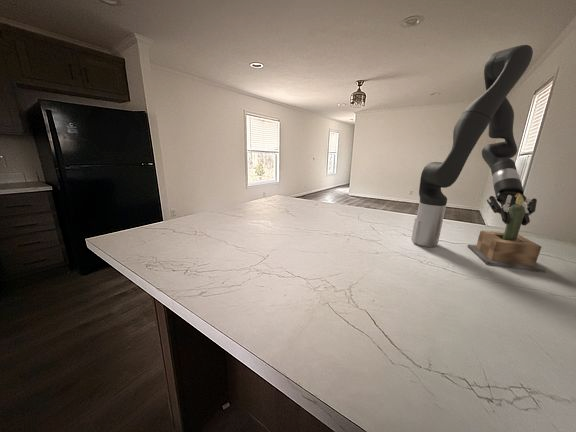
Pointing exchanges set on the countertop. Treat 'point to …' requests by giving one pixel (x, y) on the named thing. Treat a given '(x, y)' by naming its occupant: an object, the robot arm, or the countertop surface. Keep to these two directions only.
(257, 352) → the countertop surface
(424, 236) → the robot arm
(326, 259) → the countertop surface
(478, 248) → the holder
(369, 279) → the countertop surface
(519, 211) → the vegetable
